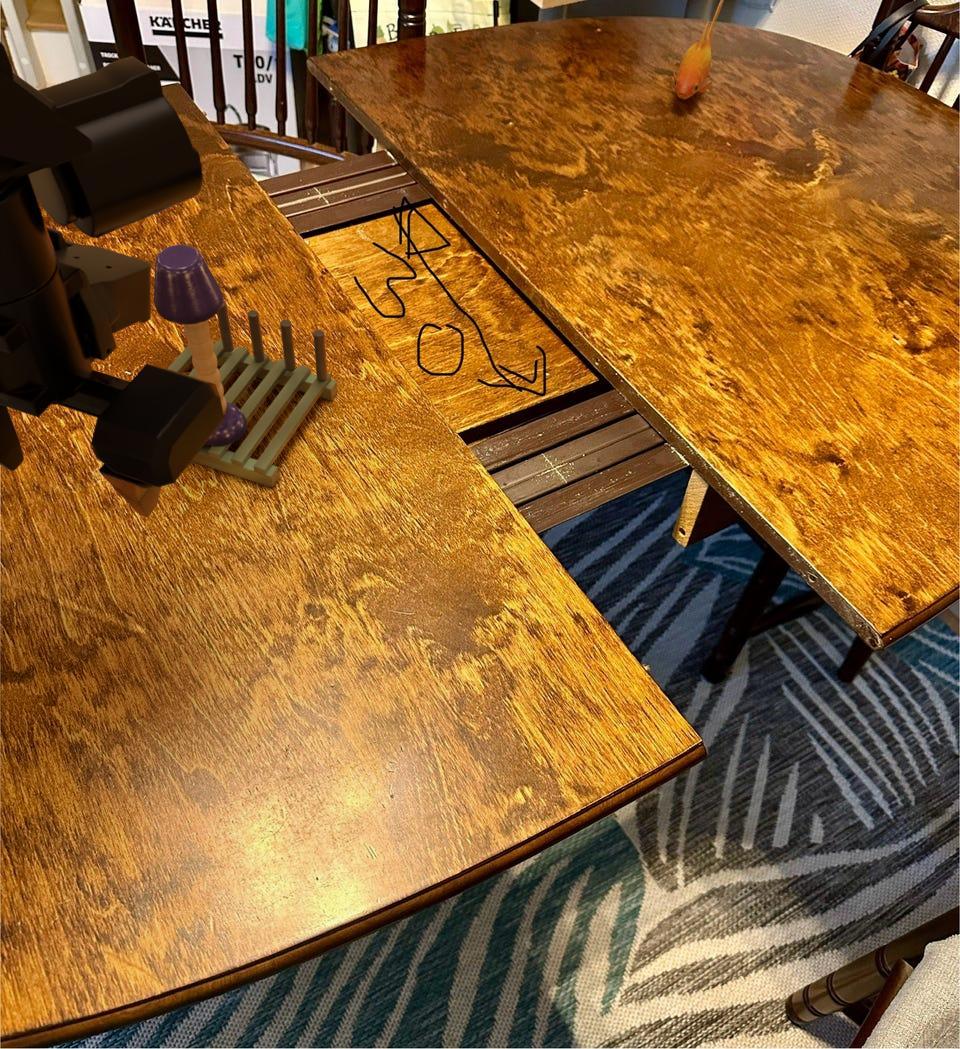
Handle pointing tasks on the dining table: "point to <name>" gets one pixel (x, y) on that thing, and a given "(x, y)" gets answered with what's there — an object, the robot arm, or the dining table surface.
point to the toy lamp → (196, 322)
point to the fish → (696, 64)
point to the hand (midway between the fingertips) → (82, 487)
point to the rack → (262, 395)
